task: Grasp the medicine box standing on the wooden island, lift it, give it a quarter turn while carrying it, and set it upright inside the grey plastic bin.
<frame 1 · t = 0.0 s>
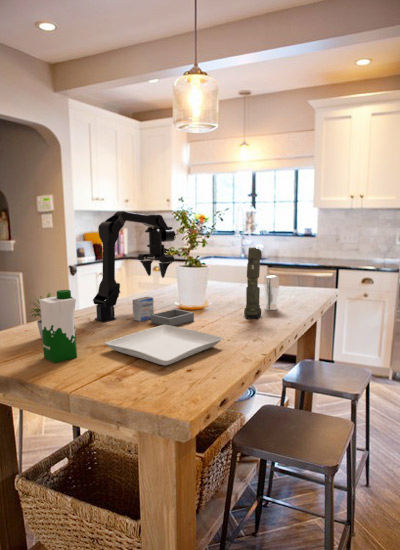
hand: (156, 276, 185), 15 cm above the table, fingers open, 9 cm apart
mechanical leg: (252, 316, 172), on the table
house plant: (47, 337, 142), on the table
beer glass: (270, 309, 184), on the table
medicine box: (143, 319, 167), on the table
bin: (172, 322, 162), on the table
square plate: (165, 351, 129), on the table
milk carton: (60, 358, 121), on the table
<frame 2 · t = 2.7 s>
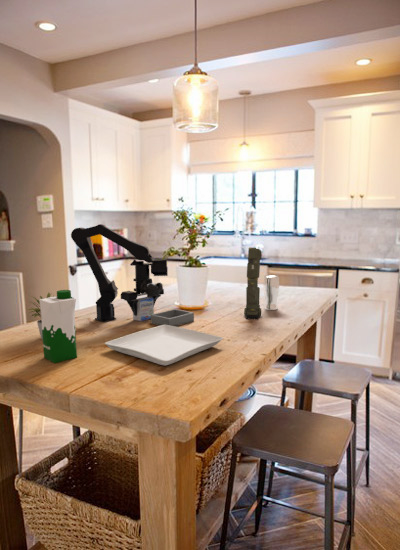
hand: (143, 313, 167), 2 cm above the table, fingers closed on medicine box, 8 cm apart
medicine box: (143, 319, 167), on the table, touching gripper
everything else where it was.
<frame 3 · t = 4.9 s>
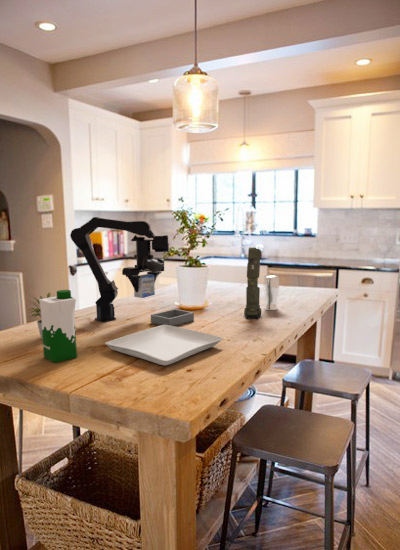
hand: (144, 290, 165), 12 cm above the table, fingers closed on medicine box, 8 cm apart
medicine box: (144, 296, 166), point 9 cm above the table, touching gripper
everything else where it was.
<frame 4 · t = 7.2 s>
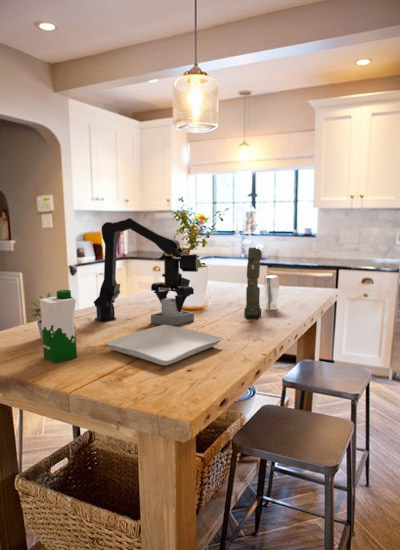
hand: (172, 310, 161), 5 cm above the table, fingers closed on medicine box, 8 cm apart
medicine box: (172, 321, 162), resting on bin, touching gripper
everything else where it was.
when the fingers open (5 cm above the table, at t = 8.2 s): medicine box stays where it is, resting on bin.
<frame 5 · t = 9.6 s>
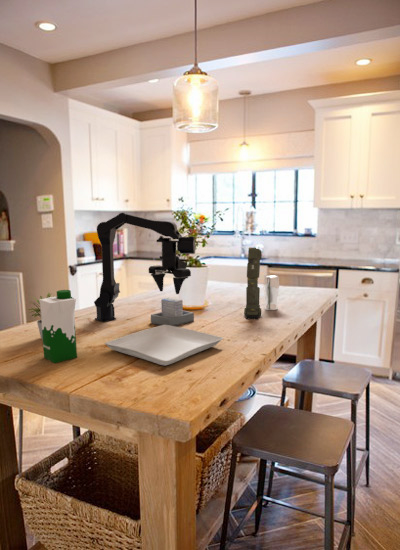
hand: (169, 292, 161), 12 cm above the table, fingers open, 9 cm apart
medicine box: (172, 321, 162), resting on bin
everything else where it was.
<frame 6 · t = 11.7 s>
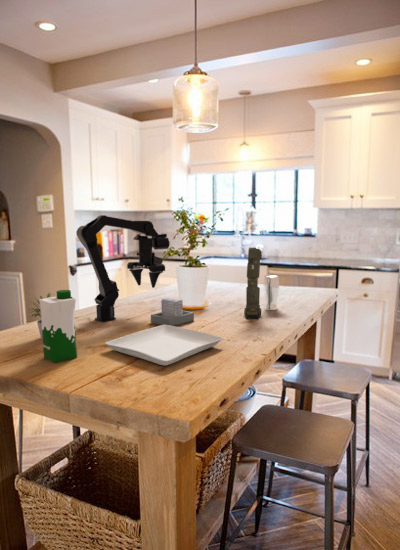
hand: (146, 286, 175), 12 cm above the table, fingers open, 9 cm apart
nothing on the table moved.
at the end: medicine box 0.1 cm off-centre on the bin, point 0.4 cm above the bin's base; medicine box tilted 0°; the gripper is holding nothing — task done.
